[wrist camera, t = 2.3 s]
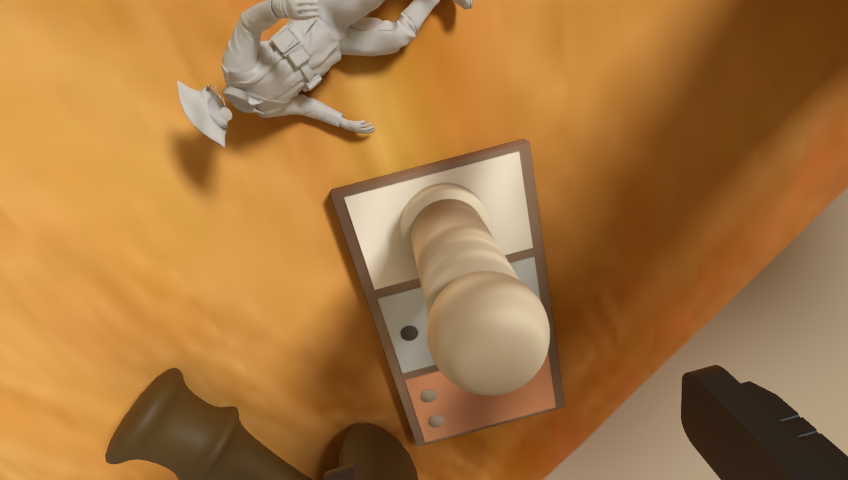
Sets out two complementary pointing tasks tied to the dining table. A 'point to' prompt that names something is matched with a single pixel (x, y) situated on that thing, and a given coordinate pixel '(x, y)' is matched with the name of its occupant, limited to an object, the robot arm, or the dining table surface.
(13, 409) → the dining table surface
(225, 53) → the soldier figure
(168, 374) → the kendama
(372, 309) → the board
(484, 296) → the pawn
